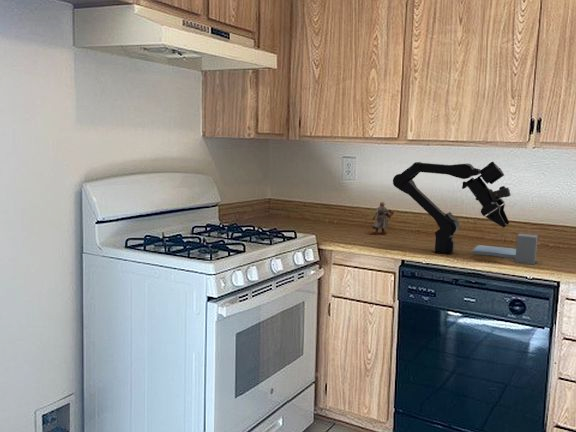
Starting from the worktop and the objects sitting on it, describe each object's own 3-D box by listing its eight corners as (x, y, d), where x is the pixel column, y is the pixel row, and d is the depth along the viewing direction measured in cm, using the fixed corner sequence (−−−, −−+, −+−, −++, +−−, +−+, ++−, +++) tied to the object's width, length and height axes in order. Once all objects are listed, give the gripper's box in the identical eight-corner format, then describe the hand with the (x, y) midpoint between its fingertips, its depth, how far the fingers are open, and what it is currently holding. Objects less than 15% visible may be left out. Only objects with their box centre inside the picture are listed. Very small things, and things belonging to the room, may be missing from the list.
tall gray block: (515, 262, 205) (517, 235, 204) (517, 259, 211) (519, 233, 209) (533, 264, 202) (536, 237, 201) (535, 261, 208) (537, 235, 206)
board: (472, 253, 220) (472, 250, 220) (478, 247, 232) (478, 244, 232) (526, 259, 211) (526, 256, 211) (530, 253, 223) (530, 250, 223)
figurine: (391, 232, 267) (392, 200, 265) (399, 234, 261) (401, 202, 258) (365, 233, 262) (366, 201, 260) (373, 235, 255) (374, 203, 253)
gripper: (495, 180, 200) (523, 215, 196) (502, 177, 216) (528, 210, 213) (469, 198, 204) (495, 233, 201) (478, 194, 221) (503, 226, 218)
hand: (506, 225), depth 208 cm, fingers open, 9 cm apart
